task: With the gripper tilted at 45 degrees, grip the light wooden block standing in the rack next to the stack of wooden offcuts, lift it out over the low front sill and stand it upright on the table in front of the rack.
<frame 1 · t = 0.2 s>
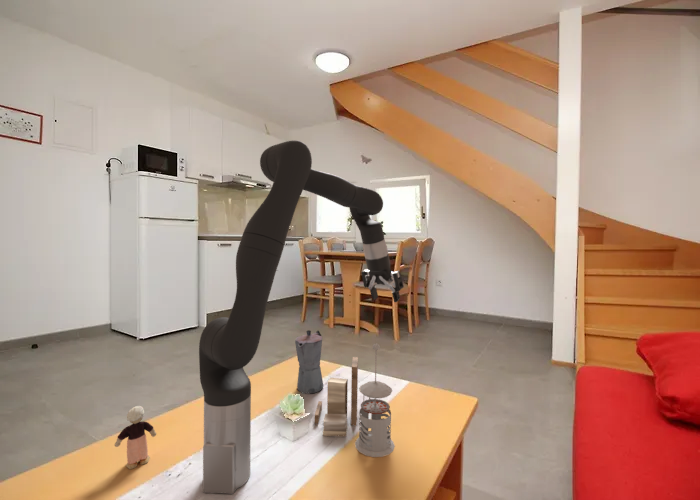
hand: (386, 299, 112), 31 cm above the table, fingers open, 8 cm apart
offcut stack: (335, 431, 88), on the table
light wooden block: (337, 419, 94), on the table
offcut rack: (337, 417, 95), on the table
moka pot: (310, 388, 115), on the table
grandmother figurine: (135, 464, 74), on the table
french press: (373, 443, 84), on the table
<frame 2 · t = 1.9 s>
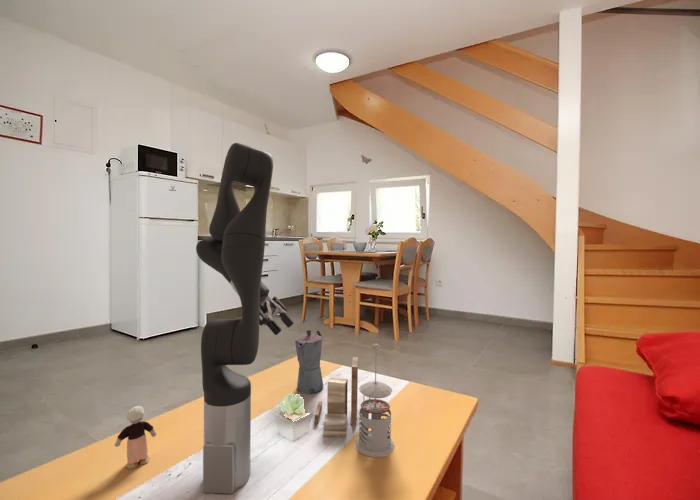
hand: (285, 329, 97), 25 cm above the table, fingers open, 8 cm apart
nothing on the table moved.
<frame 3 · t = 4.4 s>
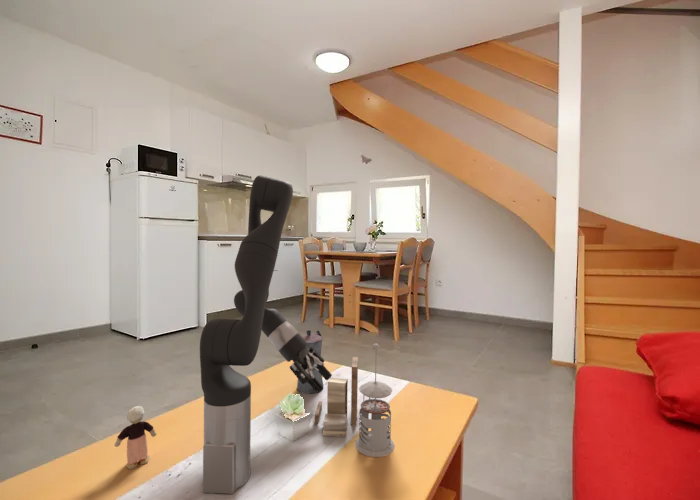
hand: (325, 384, 95), 9 cm above the table, fingers open, 8 cm apart
nothing on the table moved.
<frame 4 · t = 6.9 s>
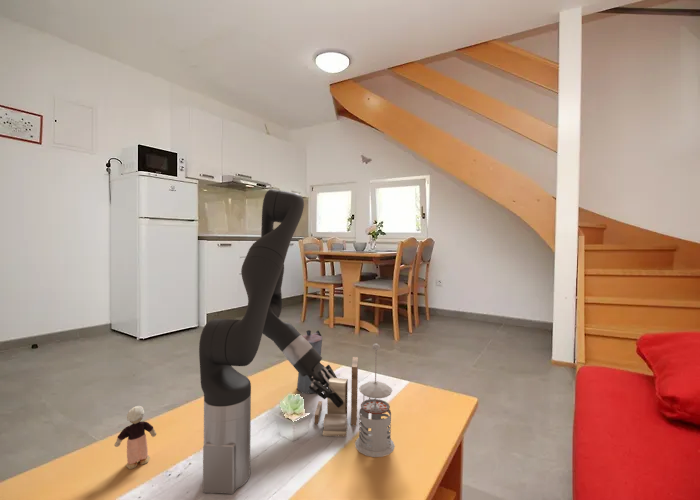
hand: (342, 402, 94), 5 cm above the table, fingers closed on light wooden block, 3 cm apart
light wooden block: (337, 419, 94), on the table, touching gripper
everything else where it was.
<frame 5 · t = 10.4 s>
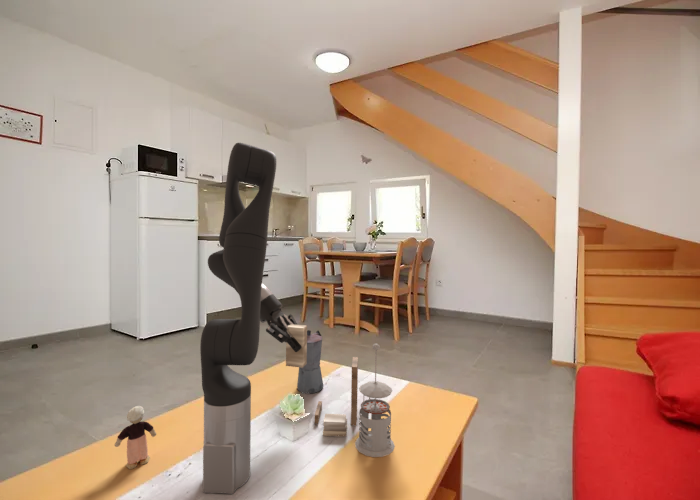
hand: (301, 347, 94), 20 cm above the table, fingers closed on light wooden block, 3 cm apart
light wooden block: (296, 364, 95), point 15 cm above the table, touching gripper
everything else where it was.
when the fingers open (6 cm above the table, at t = 13.9 s): light wooden block drops 1 cm, on the table.
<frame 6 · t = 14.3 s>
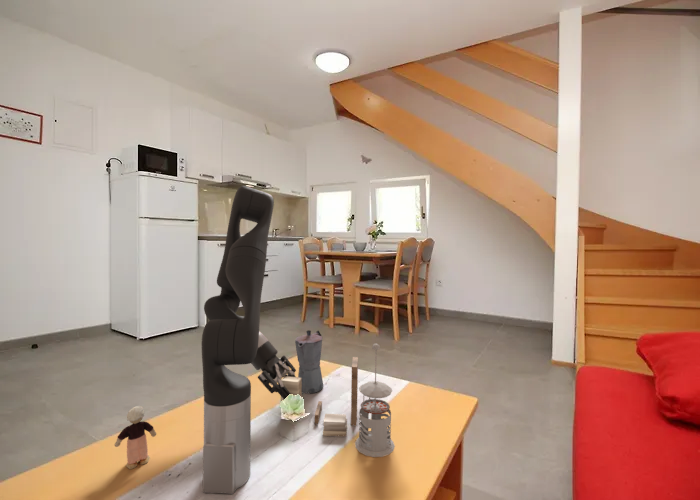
hand: (295, 393, 95), 7 cm above the table, fingers open, 7 cm apart
light wooden block: (291, 417, 95), on the table
everything else where it was.
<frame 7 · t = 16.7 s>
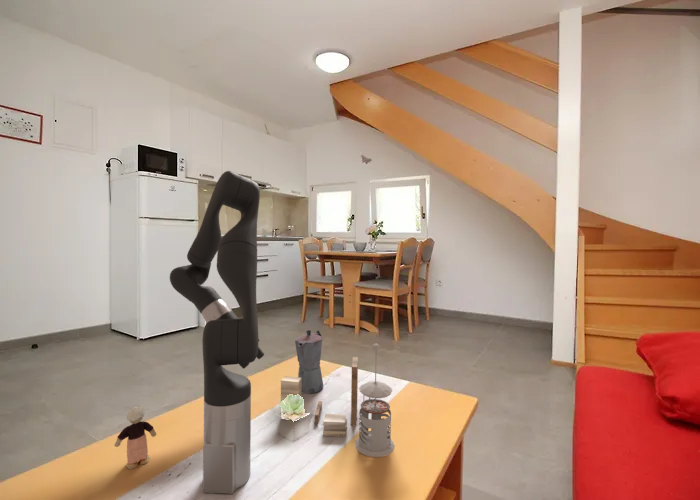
hand: (254, 361, 97), 15 cm above the table, fingers open, 8 cm apart
nothing on the table moved.
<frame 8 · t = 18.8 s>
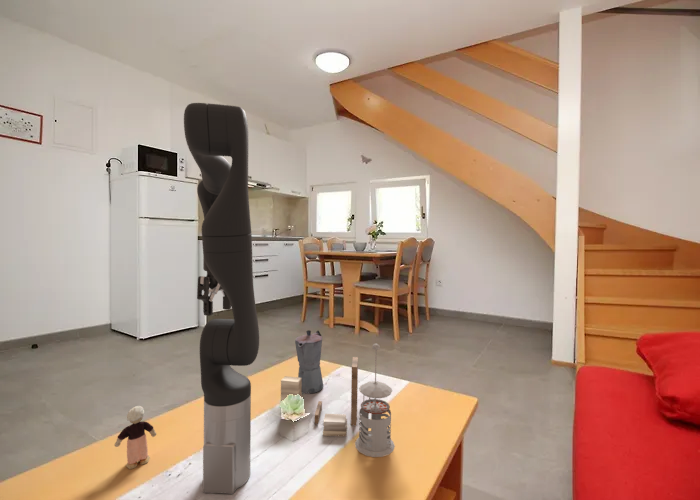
hand: (218, 312, 92), 30 cm above the table, fingers open, 8 cm apart
nothing on the table moved.
at the end: light wooden block inside the target area (0.7 cm from its centre), on the table; light wooden block tilted 0°; the gripper is holding nothing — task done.
